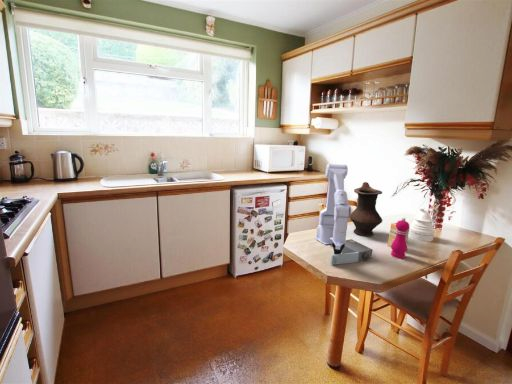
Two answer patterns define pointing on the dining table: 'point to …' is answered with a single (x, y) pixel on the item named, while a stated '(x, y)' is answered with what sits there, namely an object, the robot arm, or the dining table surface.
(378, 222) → the jug
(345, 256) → the side door
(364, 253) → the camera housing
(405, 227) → the pepper mill
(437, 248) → the dining table surface
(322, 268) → the dining table surface
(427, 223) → the honey pot
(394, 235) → the supplement box
